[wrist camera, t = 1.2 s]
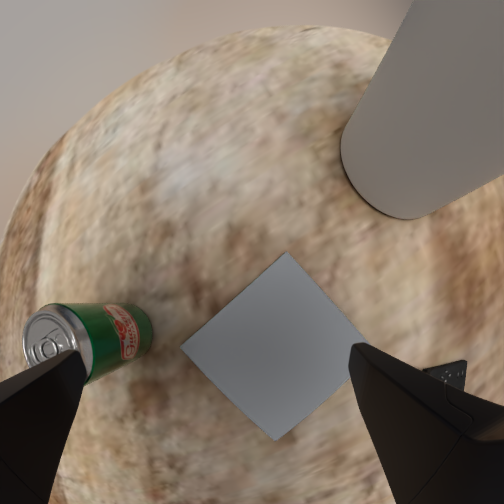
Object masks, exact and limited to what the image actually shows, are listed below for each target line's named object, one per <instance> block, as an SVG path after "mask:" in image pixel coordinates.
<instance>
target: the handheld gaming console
mask: <svg viewBox="0 0 504 504" xmlns="http://www.w3.org/2000/svg"><path fill="white" fill-rule="evenodd" d="M466 369H467V361H465V360H460V361H456V362H453V363H448V364H445V365H440V366H436V367H432V368H427V369H423V372H425V373H427V374H429V375H431V376H433V377H435V378H437V379H439V380H441V381H443V382H445V384H446V383H447V384H449V385H451V386H453V387H455V388H457V389H460V390H462V391H464V386H465V378H466Z"/></svg>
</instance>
